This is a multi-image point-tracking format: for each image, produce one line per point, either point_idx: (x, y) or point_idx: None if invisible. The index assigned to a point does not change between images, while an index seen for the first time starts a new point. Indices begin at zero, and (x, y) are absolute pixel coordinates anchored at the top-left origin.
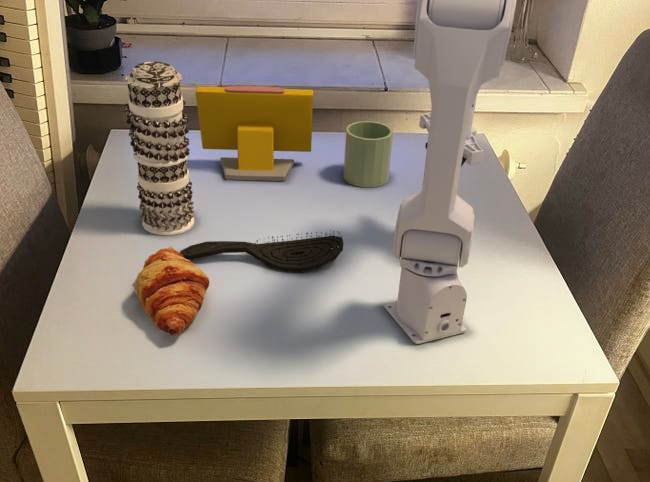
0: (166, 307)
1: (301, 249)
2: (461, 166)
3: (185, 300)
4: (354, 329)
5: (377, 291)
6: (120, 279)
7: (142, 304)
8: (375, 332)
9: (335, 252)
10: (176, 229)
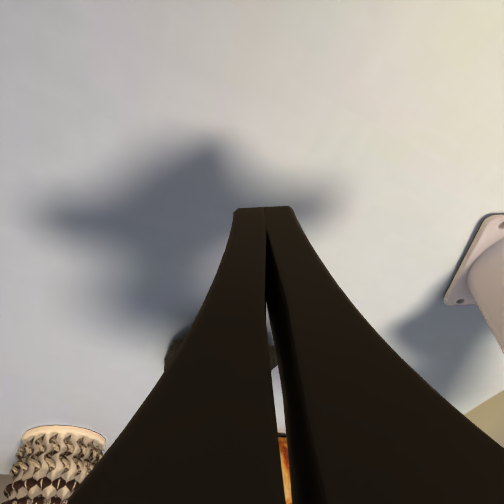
0: None
1: None
2: (386, 344)
3: None
4: (456, 342)
5: (387, 291)
6: None
7: None
8: (487, 324)
9: (272, 357)
10: (96, 442)
